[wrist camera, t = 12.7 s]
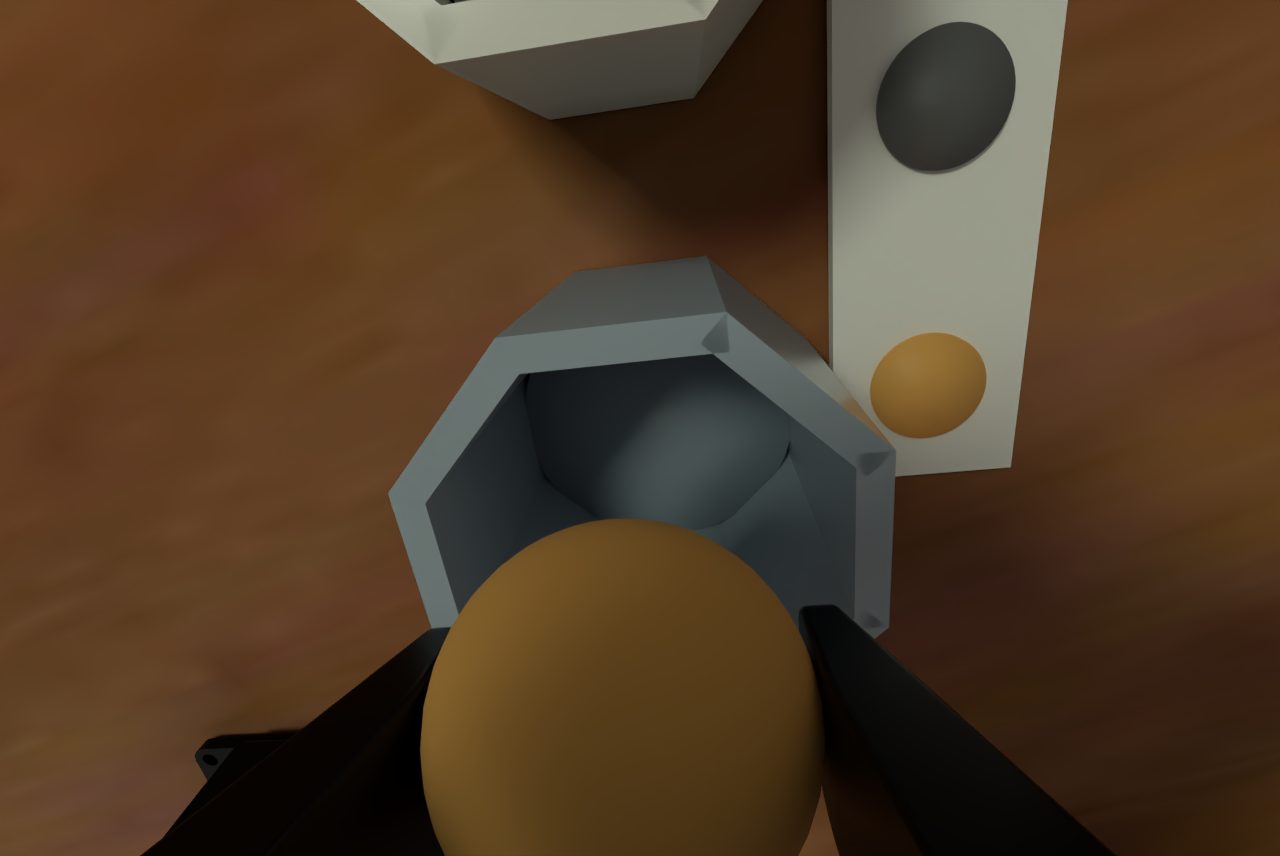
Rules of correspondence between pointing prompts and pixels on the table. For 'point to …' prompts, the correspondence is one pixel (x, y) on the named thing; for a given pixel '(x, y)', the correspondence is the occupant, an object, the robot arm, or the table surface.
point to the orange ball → (623, 705)
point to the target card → (937, 215)
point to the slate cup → (656, 442)
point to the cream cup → (573, 47)
